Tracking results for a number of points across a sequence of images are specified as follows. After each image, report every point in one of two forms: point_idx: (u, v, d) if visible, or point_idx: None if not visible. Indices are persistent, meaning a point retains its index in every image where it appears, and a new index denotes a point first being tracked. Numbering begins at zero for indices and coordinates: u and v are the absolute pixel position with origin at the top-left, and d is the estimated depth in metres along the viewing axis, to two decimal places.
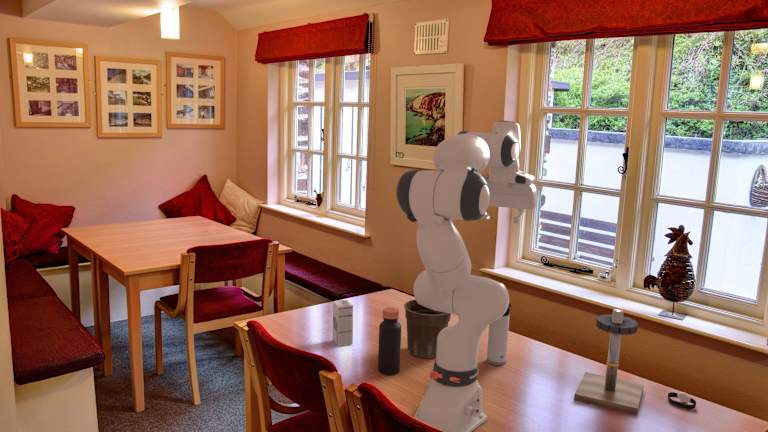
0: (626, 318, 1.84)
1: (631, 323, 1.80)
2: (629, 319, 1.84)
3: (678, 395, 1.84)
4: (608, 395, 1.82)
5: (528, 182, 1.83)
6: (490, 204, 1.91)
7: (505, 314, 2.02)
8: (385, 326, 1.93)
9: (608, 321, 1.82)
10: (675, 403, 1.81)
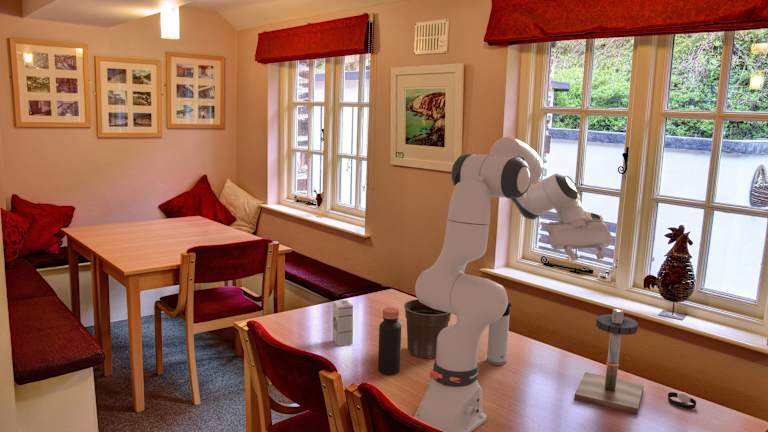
0: (626, 318, 1.84)
1: (631, 323, 1.80)
2: (629, 319, 1.84)
3: (678, 395, 1.84)
4: (608, 395, 1.82)
5: (602, 218, 2.02)
6: (576, 242, 1.96)
7: (505, 314, 2.02)
8: (385, 326, 1.93)
9: (608, 321, 1.82)
10: (675, 403, 1.81)
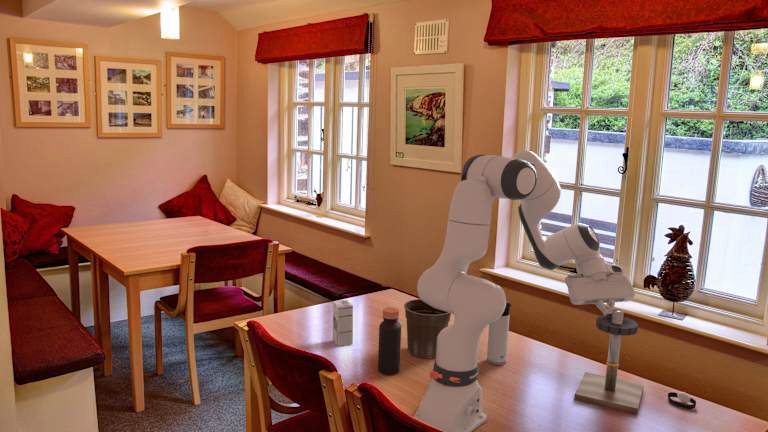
0: (626, 319, 1.84)
1: (631, 324, 1.81)
2: (629, 320, 1.84)
3: (678, 395, 1.84)
4: (608, 395, 1.82)
5: (623, 270, 1.92)
6: (597, 297, 1.86)
7: (505, 314, 2.02)
8: (385, 326, 1.93)
9: (608, 322, 1.82)
10: (675, 403, 1.81)
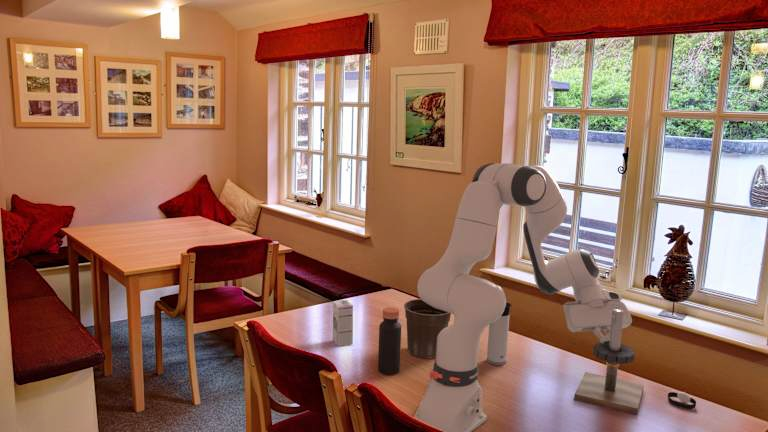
0: (623, 346, 1.86)
1: (628, 352, 1.82)
2: (626, 347, 1.85)
3: (678, 395, 1.84)
4: (608, 395, 1.82)
5: (621, 297, 1.94)
6: (594, 324, 1.88)
7: (505, 314, 2.02)
8: (385, 326, 1.93)
9: (605, 350, 1.83)
10: (675, 403, 1.81)
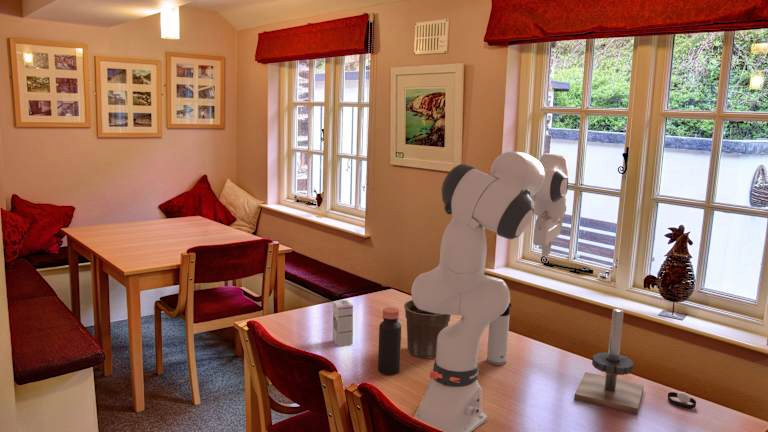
0: (622, 357, 1.87)
1: (627, 362, 1.83)
2: (625, 358, 1.86)
3: (678, 395, 1.84)
4: (608, 395, 1.82)
5: None
6: (550, 240, 1.85)
7: (505, 314, 2.02)
8: (385, 326, 1.93)
9: (604, 360, 1.84)
10: (675, 403, 1.81)
